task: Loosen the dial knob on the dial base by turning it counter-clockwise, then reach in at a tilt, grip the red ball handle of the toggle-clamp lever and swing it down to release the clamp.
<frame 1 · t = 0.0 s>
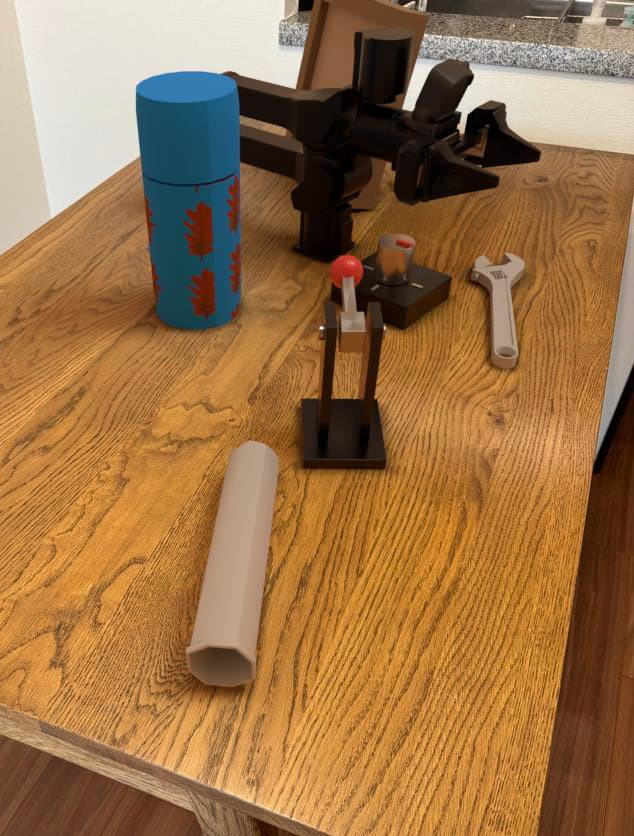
hand: (519, 169, 84), 17 cm above the table, tool horizontal, fingers open, 9 cm apart
clamp lever: (348, 300, 73), point 13 cm above the table, hinge at 8.0°
adjustable wrench: (493, 311, 96), on the table
photo frame: (352, 181, 125), on the table
lever stand: (341, 437, 79), on the table
dial knob: (394, 258, 94), point 5 cm above the table, hinge at 0.0°
dial base: (389, 299, 98), on the table
tube: (240, 566, 67), on the table
thermos: (198, 309, 98), on the table
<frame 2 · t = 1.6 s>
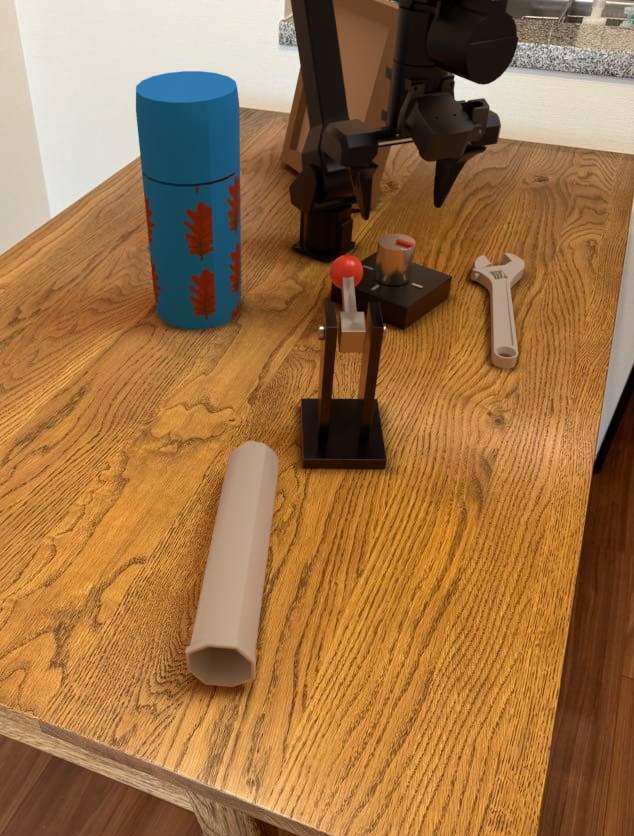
hand: (401, 212, 90), 11 cm above the table, tool pointing down, fingers open, 9 cm apart
nothing on the table moved.
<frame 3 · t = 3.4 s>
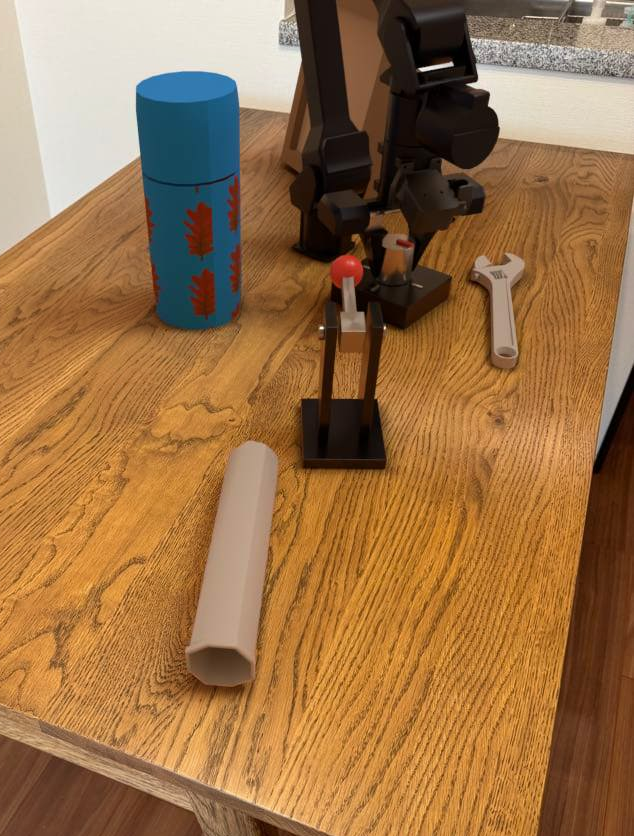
hand: (392, 273, 96), 4 cm above the table, tool pointing down, fingers closed on dial knob, 4 cm apart
dial knob: (394, 258, 94), point 5 cm above the table, hinge at 0.0°, touching gripper
everything else where it was.
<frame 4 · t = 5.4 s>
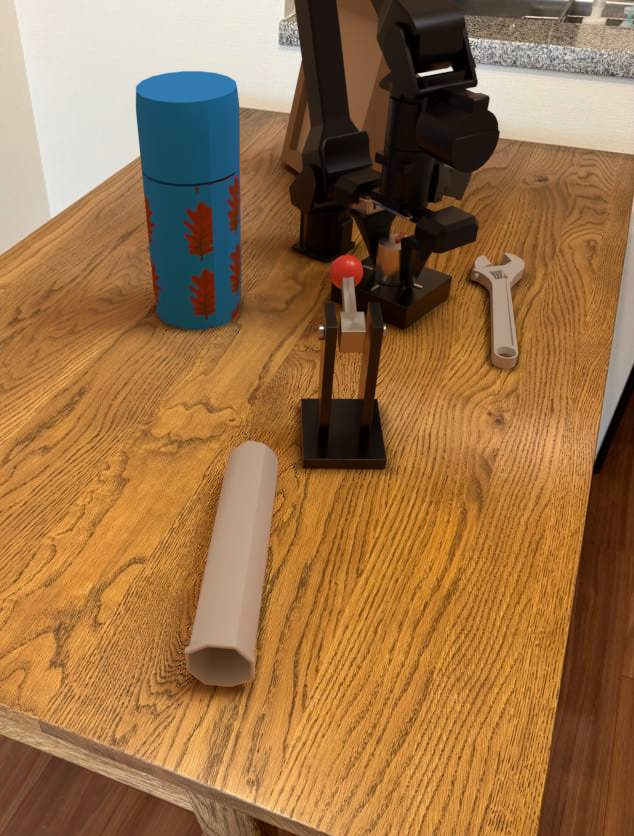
hand: (393, 278, 96), 3 cm above the table, tool pointing down, fingers open, 5 cm apart
dial knob: (394, 258, 94), point 5 cm above the table, hinge at 104.8°
everything else where it was.
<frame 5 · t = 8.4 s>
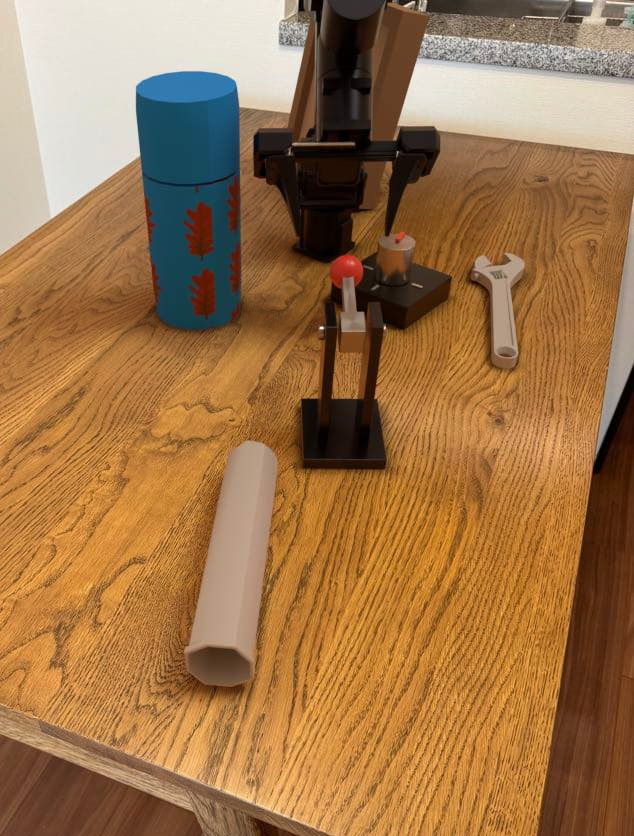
hand: (342, 235, 81), 14 cm above the table, tool tilted 45°, fingers open, 9 cm apart
nothing on the table moved.
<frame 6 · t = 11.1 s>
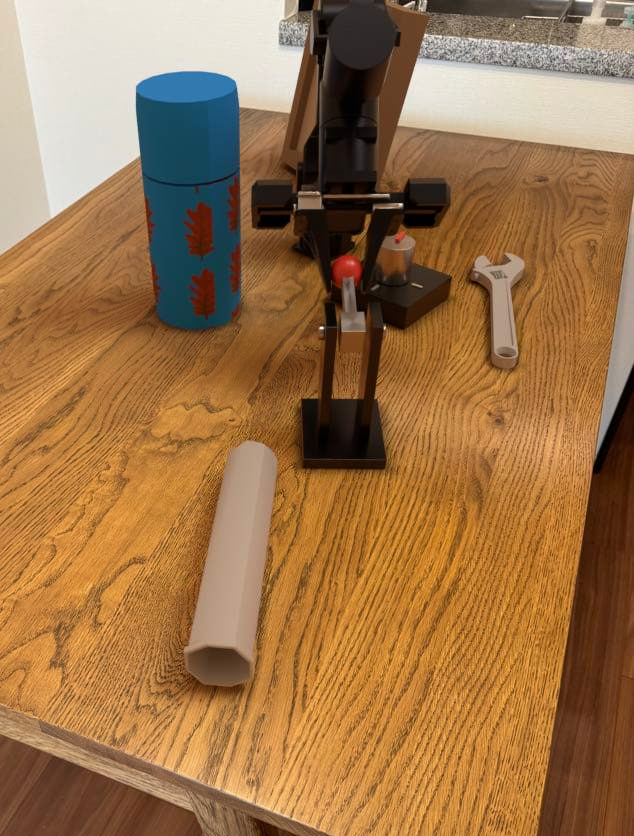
hand: (346, 292, 76), 12 cm above the table, tool tilted 45°, fingers closed on clamp lever, 3 cm apart
clamp lever: (348, 300, 73), point 13 cm above the table, hinge at 8.0°, touching gripper
everything else where it was.
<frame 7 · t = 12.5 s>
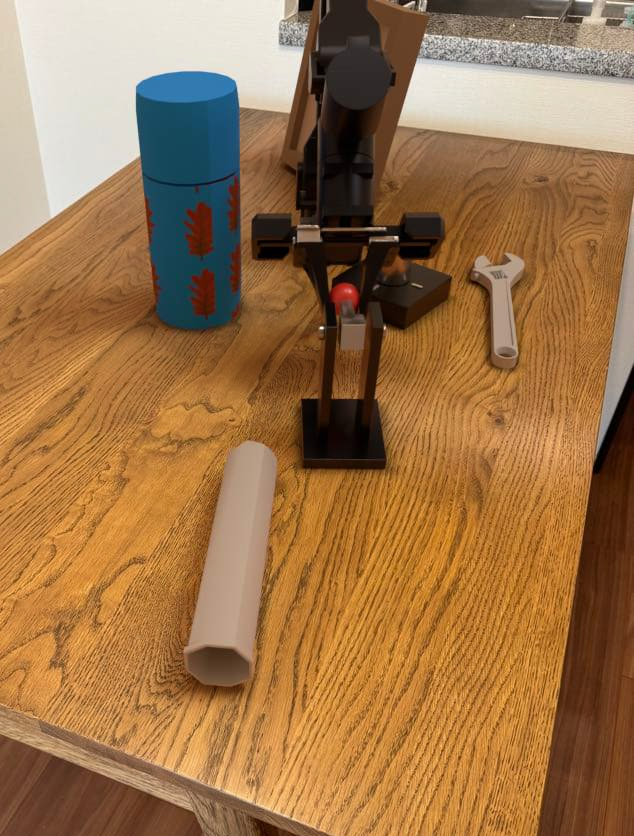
hand: (344, 322, 78), 9 cm above the table, tool tilted 45°, fingers closed on clamp lever, 3 cm apart
clamp lever: (347, 314, 74), point 11 cm above the table, hinge at -10.4°, touching gripper
everything else where it was.
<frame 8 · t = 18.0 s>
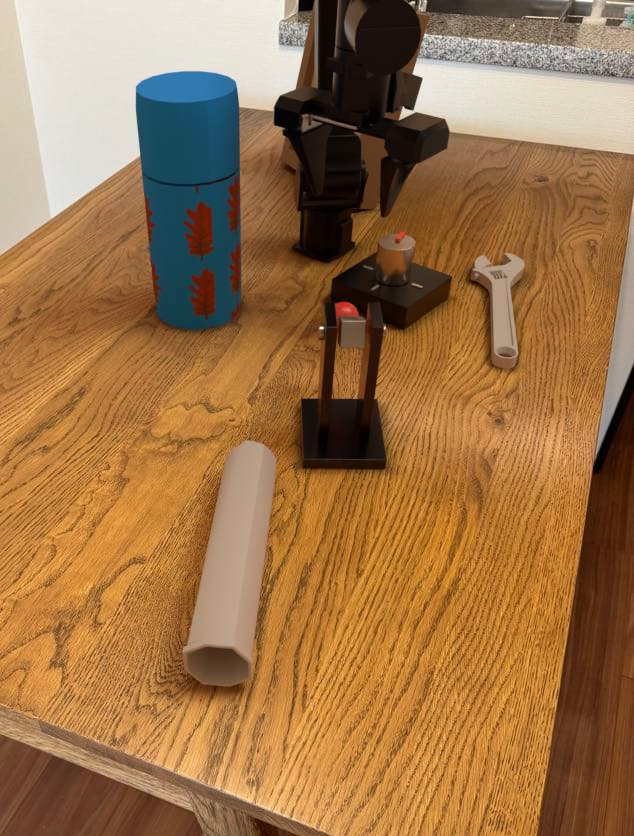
hand: (350, 205, 87), 13 cm above the table, tool pointing down, fingers open, 9 cm apart
clamp lever: (346, 324, 75), point 10 cm above the table, hinge at -22.2°
everything else where it was.
at the end: dial knob at +105° (first picture: +0°); clamp lever at -22° (first picture: +8°) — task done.
